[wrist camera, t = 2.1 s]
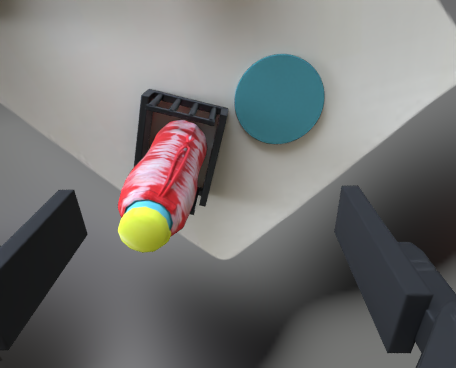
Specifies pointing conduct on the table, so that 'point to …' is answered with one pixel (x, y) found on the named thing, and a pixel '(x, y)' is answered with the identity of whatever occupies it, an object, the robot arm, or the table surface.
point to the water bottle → (162, 187)
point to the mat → (279, 99)
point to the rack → (155, 97)
